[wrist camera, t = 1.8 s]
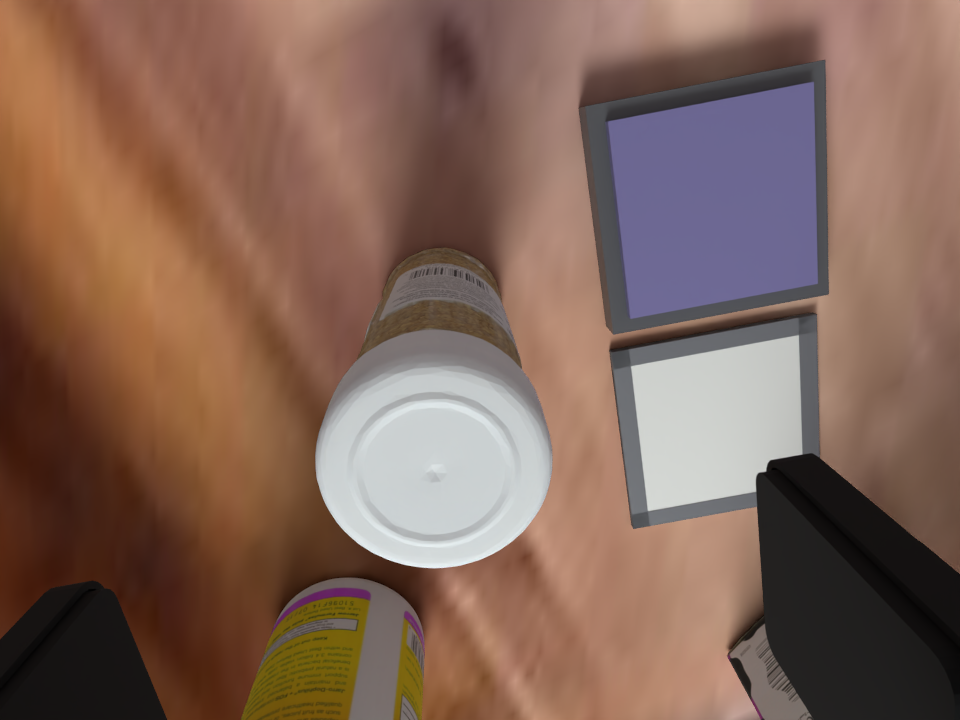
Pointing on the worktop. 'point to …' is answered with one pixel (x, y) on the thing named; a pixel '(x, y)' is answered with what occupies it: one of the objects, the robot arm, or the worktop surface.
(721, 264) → the ink pad
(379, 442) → the sprinkles bottle
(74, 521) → the worktop surface
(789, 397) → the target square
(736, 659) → the candy bar box
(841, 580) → the robot arm
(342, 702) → the supplement bottle
